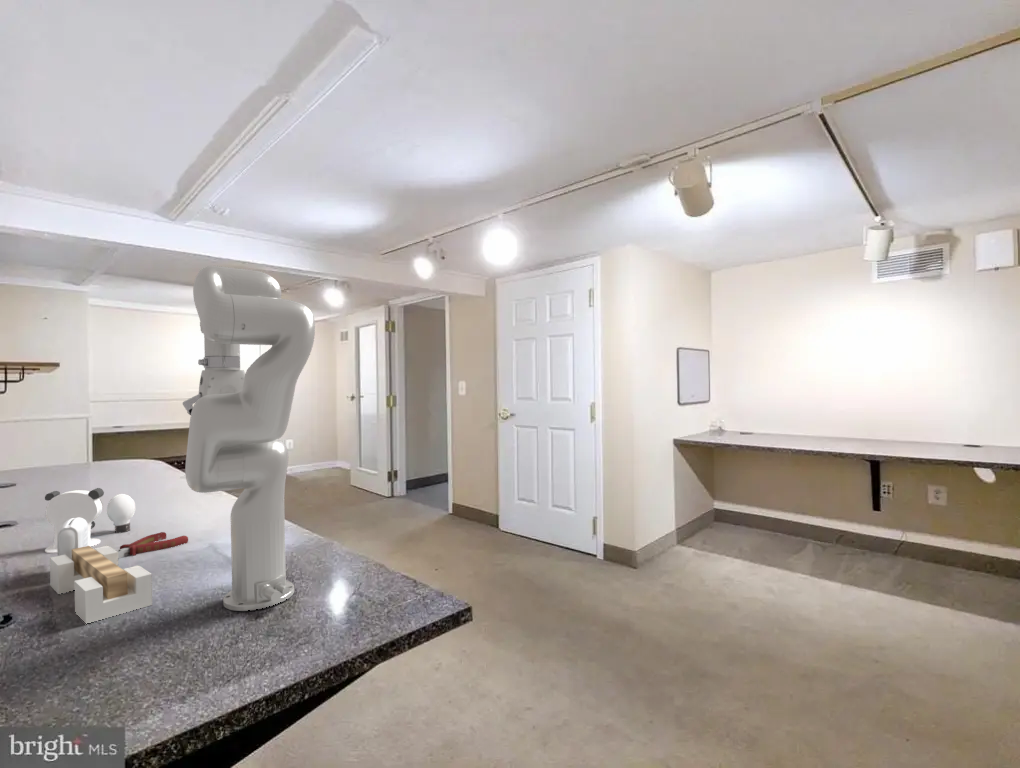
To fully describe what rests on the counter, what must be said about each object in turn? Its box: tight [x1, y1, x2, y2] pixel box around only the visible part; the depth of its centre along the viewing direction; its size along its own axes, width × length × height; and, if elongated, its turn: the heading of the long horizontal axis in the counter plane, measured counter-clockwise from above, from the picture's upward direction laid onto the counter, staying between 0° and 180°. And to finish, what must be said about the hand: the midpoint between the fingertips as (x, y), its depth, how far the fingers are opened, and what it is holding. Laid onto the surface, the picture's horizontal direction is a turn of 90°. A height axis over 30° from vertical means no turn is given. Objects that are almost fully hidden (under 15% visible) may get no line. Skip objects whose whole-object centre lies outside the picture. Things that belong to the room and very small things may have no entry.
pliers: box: [115, 531, 189, 559], centre depth 130 cm, size 12×20×3 cm, turn 156°
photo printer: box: [56, 517, 88, 560], centre depth 116 cm, size 10×4×12 cm, turn 29°
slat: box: [72, 546, 128, 599], centre depth 103 cm, size 28×3×4 cm, turn 51°
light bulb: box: [106, 493, 136, 534], centre depth 150 cm, size 7×7×11 cm
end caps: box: [49, 545, 153, 625], centre depth 103 cm, size 30×10×6 cm, turn 51°
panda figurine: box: [44, 487, 105, 554], centre depth 136 cm, size 12×11×15 cm
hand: (224, 434), depth 123 cm, fingers open, 9 cm apart
